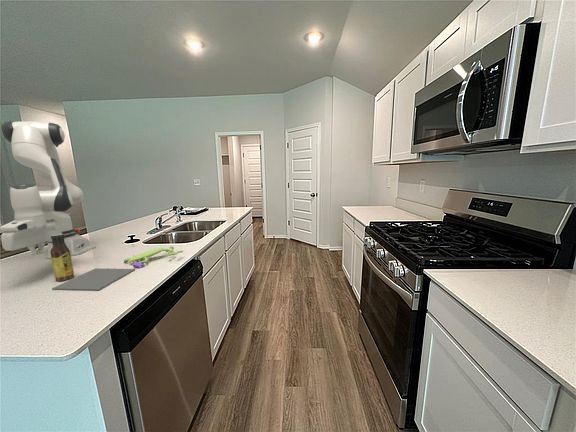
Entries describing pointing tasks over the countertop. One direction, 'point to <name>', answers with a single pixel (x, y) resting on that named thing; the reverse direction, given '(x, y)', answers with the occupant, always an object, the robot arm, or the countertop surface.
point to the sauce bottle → (61, 259)
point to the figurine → (148, 254)
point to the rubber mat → (94, 279)
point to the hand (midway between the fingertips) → (38, 254)
